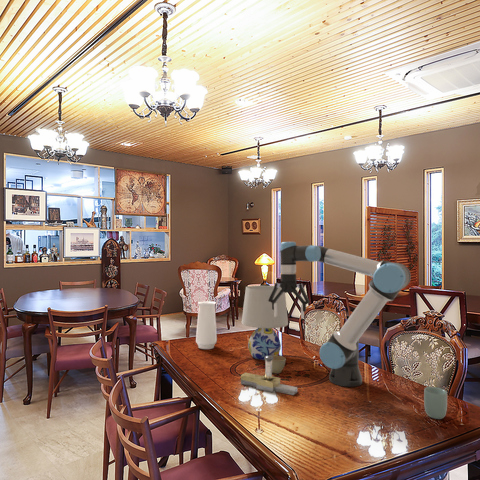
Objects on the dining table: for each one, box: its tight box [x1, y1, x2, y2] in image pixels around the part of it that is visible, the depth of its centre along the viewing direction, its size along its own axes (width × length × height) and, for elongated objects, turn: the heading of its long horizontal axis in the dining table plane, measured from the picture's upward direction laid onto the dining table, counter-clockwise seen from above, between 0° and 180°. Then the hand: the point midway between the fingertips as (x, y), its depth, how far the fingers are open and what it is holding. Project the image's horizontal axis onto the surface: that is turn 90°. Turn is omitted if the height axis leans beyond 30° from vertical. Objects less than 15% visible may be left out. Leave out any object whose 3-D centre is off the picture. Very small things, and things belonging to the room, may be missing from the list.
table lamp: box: [241, 285, 289, 361], centre depth 222 cm, size 27×27×40 cm
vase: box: [195, 300, 218, 350], centre depth 241 cm, size 13×13×28 cm
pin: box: [264, 355, 273, 381], centre depth 173 cm, size 4×4×14 cm
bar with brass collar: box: [240, 372, 298, 396], centre depth 172 cm, size 26×8×4 cm, turn 61°
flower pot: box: [272, 355, 287, 375], centre depth 195 cm, size 10×10×7 cm
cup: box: [423, 386, 448, 420], centre depth 145 cm, size 8×8×10 cm
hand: (288, 317), depth 185 cm, fingers open, 13 cm apart
